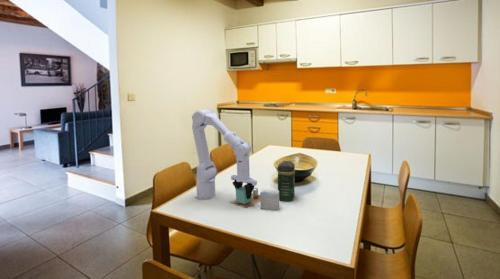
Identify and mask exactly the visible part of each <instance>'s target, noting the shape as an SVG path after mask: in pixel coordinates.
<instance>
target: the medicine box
mask: <svg viewBox="0 0 500 279" xmlns="http://www.w3.org/2000/svg"><path fill="white" fill-rule="evenodd" d="M259 195H260V202H259V203H260V209H261V210H268V211H269V210H270V211H279V208H280V205H281V204H280V201H279V190H278V189H266V188H263V189H262V190H261V191H260V192H259Z"/></svg>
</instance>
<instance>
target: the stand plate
mask: <svg viewBox="0 0 500 279" xmlns="http://www.w3.org/2000/svg"><path fill="white" fill-rule="evenodd" d="M230 203H231V204H233V205H236V206H240V207H242V208H244V209H248V208H250V207H252V206H254V205H256V204H258V203H261V202H260V194H258V198H257V199H254V198H253V192H252V201H250V202H248V203H246V204H242V203H239V202H236V200H233V201H231V202H230Z"/></svg>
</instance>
